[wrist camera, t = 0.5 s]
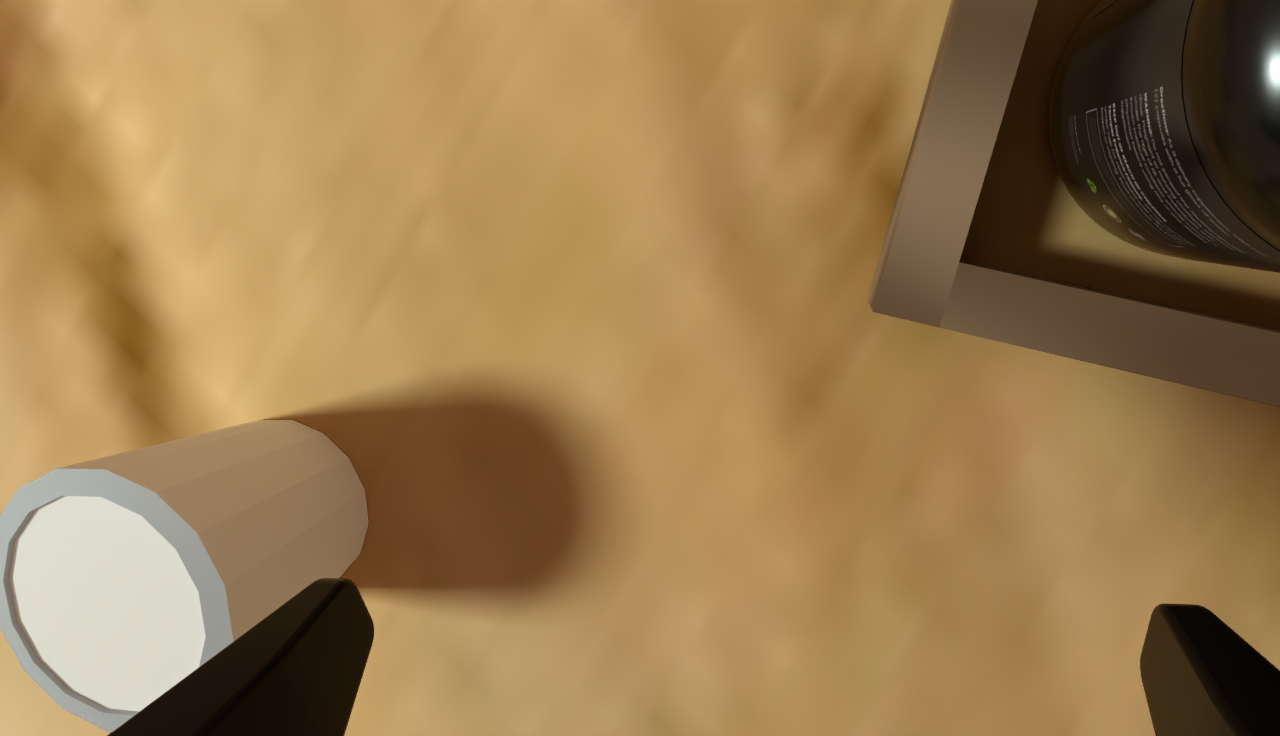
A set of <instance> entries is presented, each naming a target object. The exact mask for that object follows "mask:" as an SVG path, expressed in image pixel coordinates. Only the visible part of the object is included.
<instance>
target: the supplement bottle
mask: <svg viewBox="0 0 1280 736" xmlns="http://www.w3.org/2000/svg"><path fill="white" fill-rule="evenodd" d="M1049 134H1050V142H1051V148H1052V153H1053V156H1054V160H1055V163H1056V166H1057V169H1058V171H1059V173H1060V176H1061V178H1062V180H1063V182H1064V184H1065V186H1066V188H1067V189H1068V191H1069V193H1070V194H1071V195H1072V197H1073V198H1074V200H1075V201H1076V203H1077V204H1078V205H1079V206H1080V207H1081V208H1082V209H1083V211H1084V212H1085V213H1086V214H1087V215H1088V216H1089V217H1090V218H1091V219H1093V220H1094V221H1095V222H1096V223H1097V224H1098V225H1100V226H1101V227H1102V228H1104V229H1105V230H1107V231H1108V232H1109V233H1111V234H1113V235H1115V236H1116V237H1118V238H1120V239H1121V240H1124V241H1126V242H1128V243H1130V244H1132V245H1134V246H1137V247H1140V248H1143V249H1145V250H1148V251H1151V252H1155V253H1159V254H1163V255H1167V256H1172V257H1178V258H1183V259H1189V260H1195V261H1202V262H1209V263H1216V264H1223V265H1230V266H1237V267H1244V268H1250V269H1257V270H1264V271H1271V272H1278V273H1280V0H1100V1H1099V2H1098V3H1097V5H1096V6H1095V7H1094V8H1093V9H1092V11H1091V12H1090V13H1089V14H1088V15H1087V17H1086V18H1085V19H1084V21H1083V22H1082V23H1081V25H1080V26H1079V28H1078V29H1077V31H1076V32H1075V34H1074V36H1073V37H1072V39H1071V41H1070V43H1069V44H1068V46H1067V48H1066V50H1065V53H1064V55H1063V57H1062V59H1061V61H1060V64H1059V67H1058V70H1057V73H1056V76H1055V79H1054V83H1053V88H1052V92H1051V98H1050V106H1049Z"/></svg>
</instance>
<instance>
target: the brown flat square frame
mask: <svg viewBox="0 0 1280 736" xmlns="http://www.w3.org/2000/svg"><path fill="white" fill-rule="evenodd" d="M1037 2H1038V0H952V2H951V5H950V9H949V13H948V16H947V20H946V23H945V27H944V31H943V34H942V38H941V41H940V45H939V49H938V52H937V56H936V59H935V63H934V67H933V70H932V74H931V77H930V81H929V85H928V88H927V92H926V95H925V99H924V103H923V106H922V110H921V113H920V117H919V121H918V124H917V128H916V131H915V135H914V139H913V142H912V146H911V149H910V153H909V157H908V160H907V164H906V167H905V171H904V174H903V178H902V182H901V185H900V189H899V192H898V196H897V200H896V203H895V207H894V210H893V214H892V218H891V221H890V225H889V228H888V232H887V236H886V239H885V243H884V246H883V250H882V254H881V257H880V261H879V264H878V268H877V272H876V275H875V279H874V282H873V286H872V290H871V293H870V297H869V300H868V302H869V304H870V306H871V308H872V311H873V312H876V313H880V314H885V315H889V316H893V317H897V318H902V319H906V320H910V321H915V322H919V323H923V324H927V325H932V326H936V327H940V328H944V329H949V330H953V331H957V332H961V333H966V334H970V335H974V336H978V337H983V338H987V339H991V340H996V341H1000V342H1004V343H1008V344H1013V345H1017V346H1021V347H1025V348H1030V349H1034V350H1038V351H1042V352H1047V353H1051V354H1055V355H1059V356H1064V357H1068V358H1072V359H1077V360H1081V361H1085V362H1089V363H1094V364H1098V365H1102V366H1106V367H1111V368H1115V369H1119V370H1123V371H1128V372H1132V373H1136V374H1140V375H1145V376H1149V377H1153V378H1158V379H1162V380H1166V381H1170V382H1175V383H1179V384H1183V385H1187V386H1192V387H1196V388H1200V389H1204V390H1209V391H1213V392H1217V393H1221V394H1226V395H1230V396H1234V397H1239V398H1243V399H1247V400H1251V401H1256V402H1260V403H1264V404H1268V405H1273V406H1277V407H1280V330H1277V329H1272V328H1268V327H1263V326H1259V325H1254V324H1249V323H1245V322H1240V321H1236V320H1231V319H1227V318H1222V317H1218V316H1213V315H1209V314H1204V313H1200V312H1195V311H1190V310H1186V309H1181V308H1177V307H1172V306H1168V305H1163V304H1159V303H1154V302H1150V301H1145V300H1140V299H1136V298H1131V297H1127V296H1122V295H1118V294H1113V293H1109V292H1104V291H1100V290H1095V289H1090V288H1086V287H1081V286H1077V285H1072V284H1068V283H1063V282H1059V281H1054V280H1050V279H1045V278H1040V277H1036V276H1031V275H1027V274H1022V273H1018V272H1013V271H1009V270H1004V269H1000V268H995V267H990V266H986V265H981V264H977V263H972V262H968V261H963V260H960V258H961V254H962V251H963V248H964V244H965V241H966V238H967V234H968V231H969V228H970V225H971V221H972V218H973V215H974V211H975V208H976V205H977V201H978V198H979V195H980V191H981V188H982V185H983V181H984V178H985V175H986V171H987V168H988V165H989V161H990V158H991V155H992V151H993V148H994V145H995V142H996V138H997V135H998V132H999V128H1000V125H1001V122H1002V118H1003V115H1004V112H1005V108H1006V105H1007V102H1008V98H1009V95H1010V92H1011V88H1012V85H1013V82H1014V78H1015V75H1016V72H1017V69H1018V65H1019V62H1020V59H1021V55H1022V52H1023V49H1024V45H1025V42H1026V39H1027V35H1028V32H1029V29H1030V25H1031V22H1032V19H1033V15H1034V12H1035V9H1036V5H1037Z"/></svg>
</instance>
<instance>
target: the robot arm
mask: <svg viewBox="0 0 1280 736" xmlns="http://www.w3.org/2000/svg"><path fill="white" fill-rule="evenodd" d="M373 638H374V625H373V621H372V618H371V616H370V614H369V612H368V610H367V607H366V605H365V603H364V601H363V599H362V597H361V595H360V592H359V590H358V588H357V586H356V584H355V583H354V582H353V581H351V580H350V579H347V578H321V579H318V580H316V581H314V582H313V583H311V584H310V585H309V586H307V587H306V588H305V589H303V590H302V591H301V592H299V593H298V594H297V595H295V596H294V597H292V598H291V599H290V600H288V601H287V602H286V603H284V604H283V605H282V606H280V607H279V608H278V609H276V610H275V611H274V612H272V613H271V614H270V615H268V616H267V617H266V618H264V619H263V620H262V621H260V622H259V623H258V624H256V625H255V626H254V627H252V628H251V629H250V630H248V631H247V632H246V633H244V634H243V635H242V636H240V637H239V638H238V639H236V640H235V641H233V642H232V643H231V644H229V645H228V646H227V647H225V648H224V649H223V650H221V651H220V652H219V653H217V654H216V655H215V656H213V657H212V658H211V659H209V660H208V661H207V662H205V663H204V664H203V665H201V666H200V667H199V668H197V669H196V670H195V671H193V672H192V673H191V674H189V675H188V676H187V677H185V678H184V679H183V680H181V681H180V682H179V683H177V684H176V685H174V686H173V687H172V688H170V689H169V690H168V691H166V692H165V693H164V694H162V695H161V696H160V697H158V698H157V699H156V700H154V701H153V702H152V703H150V704H149V705H148V706H146V707H145V708H144V709H142V710H141V711H140V712H138V713H137V714H136V715H134V716H133V717H132V718H130V719H129V720H128V721H126V722H125V723H124V724H122V725H121V726H119V727H118V728H117V729H115V730H114V731H113V732H111V733H110V734H109V735H107V736H344V734H345V731H346V728H347V724H348V721H349V718H350V715H351V711H352V708H353V705H354V702H355V698H356V695H357V692H358V689H359V685H360V682H361V679H362V676H363V672H364V669H365V666H366V663H367V659H368V656H369V653H370V650H371V646H372V643H373ZM1140 670H1141V678H1142V682H1143V686H1144V690H1145V694H1146V698H1147V703H1148V707H1149V711H1150V715H1151V719H1152V723H1153V727H1154V731H1155V735H1156V736H1280V671H1279V670H1278V669H1277V668H1276V667H1275V666H1274V665H1273V664H1271V663H1270V662H1269V661H1268V660H1267V659H1266V658H1264V657H1263V656H1262V655H1261V654H1260V653H1259V652H1257V651H1256V650H1255V649H1254V648H1253V647H1252V646H1251V645H1249V644H1248V643H1247V642H1246V641H1245V640H1244V639H1242V638H1241V637H1240V636H1239V635H1238V634H1237V633H1235V632H1234V631H1233V630H1232V629H1231V628H1230V627H1229V626H1227V625H1226V624H1225V623H1224V622H1223V621H1222V620H1220V619H1219V618H1218V617H1217V616H1216V615H1215V614H1213V613H1212V612H1211V611H1210V610H1208V609H1206V608H1205V607H1203V606H1200V605H1191V604H1160V605H1158V606H1156V607H1155V609H1154V610H1153V612H1152V615H1151V619H1150V623H1149V626H1148V630H1147V634H1146V638H1145V642H1144V645H1143V649H1142V653H1141V658H1140Z"/></svg>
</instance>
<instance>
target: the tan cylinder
mask: <svg viewBox="0 0 1280 736" xmlns="http://www.w3.org/2000/svg"><path fill="white" fill-rule="evenodd" d="M368 525H369V520H368V512H367V503H366V495H365V489H364V487H363V485H362V483H361V481H360V479H359V477H358V475H357V473H356V471H355V469H354V467H353V465H352V463H351V461H350V459H349V458H348V457H347V456H346V455H345V454H344V453H343V452H342V451H341V450H340V449H339V448H338V447H337V446H336V445H335V444H334V443H333V442H332V441H331V440H330V439H329V438H328V437H327V436H326V435H324V434H323V433H321V432H319V431H317V430H315V429H312V428H310V427H308V426H305V425H303V424H301V423H298V422H296V421H294V420H258V421H254V422H250V423H246V424H242V425H237V426H233V427H229V428H225V429H221V430H216V431H212V432H208V433H204V434H200V435H195V436H191V437H187V438H183V439H179V440H175V441H170V442H166V443H162V444H158V445H154V446H149V447H145V448H141V449H137V450H133V451H128V452H124V453H120V454H116V455H112V456H108V457H103V458H99V459H95V460H91V461H87V462H82V463H78V464H74V465H70V466H66V467H61V468H57V469H55V470H53V471H51V472H50V473H48V474H46V475H44V476H42V477H40V478H38V479H36V480H34V481H32V482H30V483H28V484H26V485H24V486H22V487H20V488H18V490H17V491H16V493H15V494H14V496H13V497H12V499H11V500H10V502H9V503H8V505H7V507H6V508H5V510H4V511H3V513H2V514H1V516H0V628H1V630H2V632H3V633H4V635H5V637H6V639H7V641H8V642H9V644H10V646H11V648H12V650H13V651H14V653H15V655H16V657H17V659H18V660H19V662H20V664H21V666H22V668H23V669H24V671H25V672H26V673H27V674H28V675H29V676H30V677H31V678H32V679H33V680H34V681H35V682H36V683H37V684H38V685H39V686H40V687H41V688H42V689H43V690H44V691H45V692H46V693H47V694H48V695H49V696H50V697H51V698H52V699H53V700H54V701H55V702H56V703H57V704H58V705H59V706H60V707H61V708H63V709H64V710H66V711H68V712H70V713H72V714H74V715H76V716H78V717H80V718H82V719H84V720H86V721H88V722H90V723H92V724H94V725H96V726H98V727H100V728H102V729H104V730H106V731H109V732H113V731H114V730H115V729H117V728H118V727H119V726H121V725H122V724H124V723H125V722H126V721H128V720H129V719H130V718H132V717H133V716H134V715H136V714H137V713H138V712H140V711H141V710H142V709H144V708H145V707H146V706H148V705H149V704H150V703H152V702H153V701H154V700H156V699H157V698H158V697H160V696H161V695H162V694H164V693H165V692H166V691H168V690H169V689H170V688H172V687H173V686H174V685H176V684H177V683H179V682H180V681H181V680H183V679H184V678H185V677H187V676H188V675H189V674H191V673H192V672H193V671H195V670H196V669H197V668H199V667H200V666H201V665H203V664H204V663H205V662H207V661H208V660H209V659H211V658H212V657H213V656H215V655H216V654H217V653H219V652H220V651H221V650H223V649H224V648H225V647H227V646H228V645H229V644H231V643H232V642H233V641H235V640H236V639H238V638H239V637H240V636H242V635H243V634H244V633H246V632H247V631H248V630H250V629H251V628H252V627H254V626H255V625H256V624H258V623H259V622H260V621H262V620H263V619H264V618H266V617H267V616H268V615H270V614H271V613H272V612H274V611H275V610H276V609H278V608H279V607H280V606H282V605H283V604H284V603H286V602H287V601H288V600H290V599H291V598H292V597H294V596H295V595H297V594H298V593H299V592H301V591H302V590H303V589H305V588H306V587H307V586H309V585H310V584H311V583H313V582H314V581H316V580H318V579H321V578H340V577H341V576H342V574H343V573H344V572H345V571H346V570H347V569H348V567H349V566H350V565H351V564H352V563H353V562H354V561H355V559H356V558H357V557H358V556H359V555H360V554H361V550H362V546H363V543H364V539H365V536H366V532H367V529H368Z"/></svg>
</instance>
